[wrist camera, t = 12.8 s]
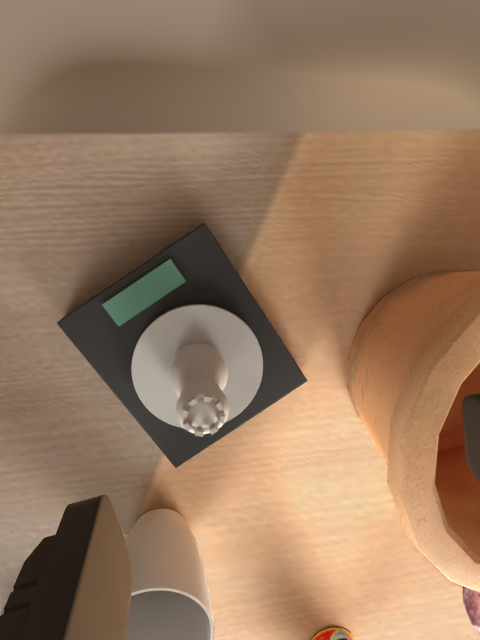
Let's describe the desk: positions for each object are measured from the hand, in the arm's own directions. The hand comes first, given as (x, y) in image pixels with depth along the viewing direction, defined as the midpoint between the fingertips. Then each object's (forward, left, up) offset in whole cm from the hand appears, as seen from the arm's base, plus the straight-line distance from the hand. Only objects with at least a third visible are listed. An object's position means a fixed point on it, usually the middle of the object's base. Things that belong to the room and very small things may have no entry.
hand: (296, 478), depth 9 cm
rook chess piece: (+4, -4, -23) cm, 23 cm away
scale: (+3, -4, -25) cm, 26 cm away
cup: (+16, -16, -26) cm, 34 cm away
